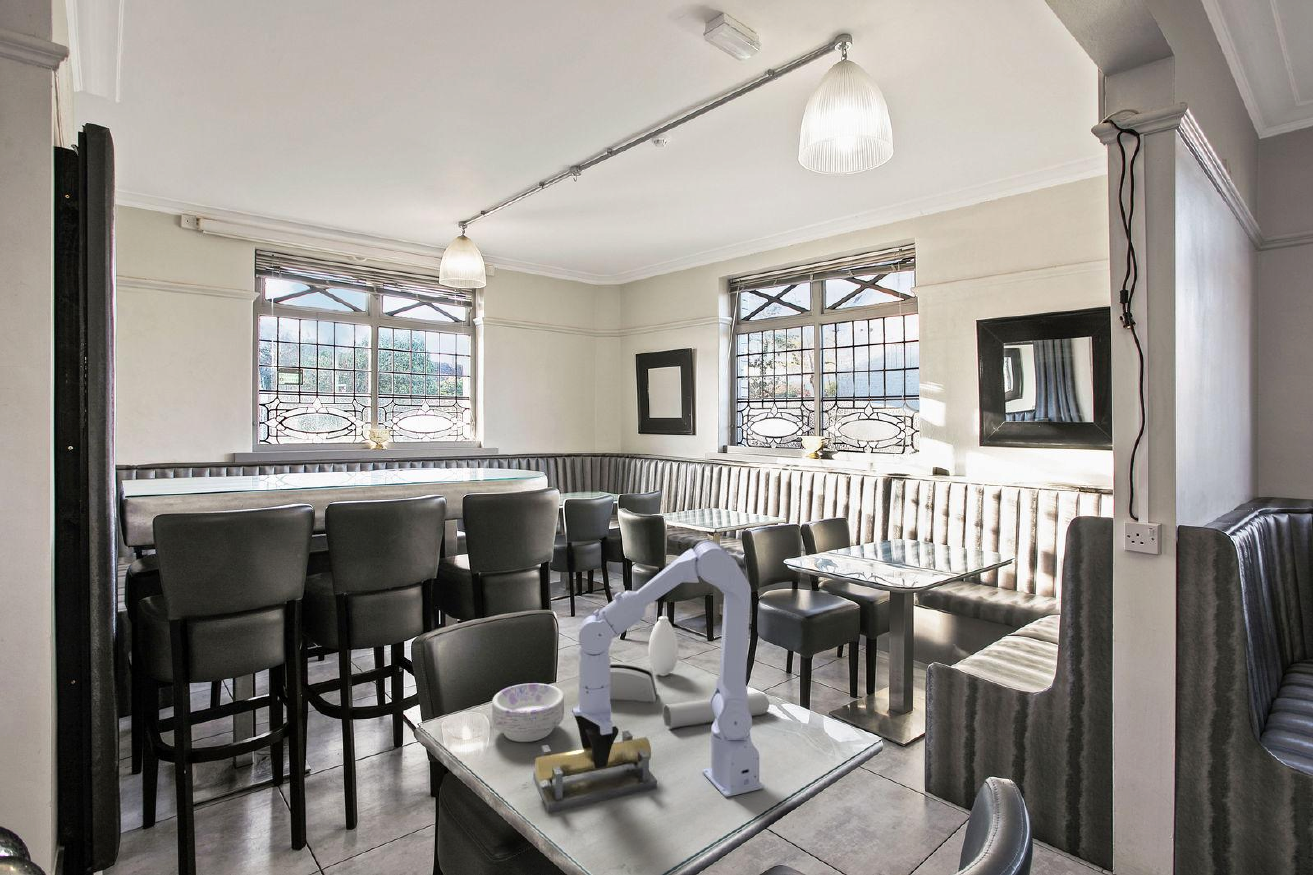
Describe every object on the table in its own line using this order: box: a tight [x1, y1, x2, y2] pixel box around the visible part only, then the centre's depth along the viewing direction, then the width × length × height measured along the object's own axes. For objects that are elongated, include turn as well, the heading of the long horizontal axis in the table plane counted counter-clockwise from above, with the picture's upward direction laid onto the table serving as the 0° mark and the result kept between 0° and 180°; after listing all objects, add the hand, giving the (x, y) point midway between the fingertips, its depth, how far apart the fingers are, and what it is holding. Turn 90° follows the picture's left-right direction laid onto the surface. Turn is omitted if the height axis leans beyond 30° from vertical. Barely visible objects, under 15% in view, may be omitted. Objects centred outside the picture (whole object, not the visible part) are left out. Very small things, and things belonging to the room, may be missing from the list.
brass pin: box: [534, 737, 652, 782], centre depth 122 cm, size 21×4×4 cm, turn 113°
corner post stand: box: [532, 730, 658, 813], centre depth 122 cm, size 12×20×6 cm, turn 113°
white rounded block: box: [610, 661, 658, 703], centre depth 161 cm, size 17×5×10 cm, turn 80°
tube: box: [662, 691, 771, 731], centre depth 149 cm, size 5×5×25 cm
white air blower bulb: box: [648, 607, 679, 677], centre depth 176 cm, size 8×8×18 cm
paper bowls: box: [491, 682, 565, 743], centre depth 142 cm, size 15×15×8 cm
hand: (594, 756), depth 122 cm, fingers open, 7 cm apart
